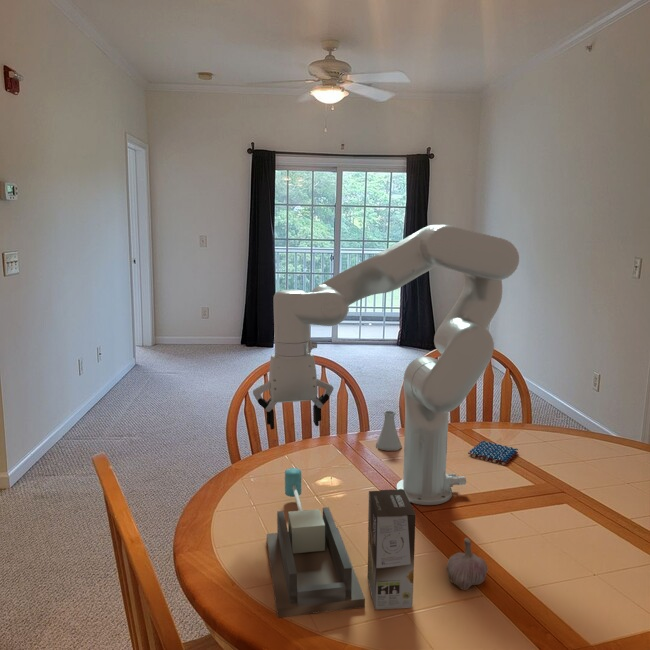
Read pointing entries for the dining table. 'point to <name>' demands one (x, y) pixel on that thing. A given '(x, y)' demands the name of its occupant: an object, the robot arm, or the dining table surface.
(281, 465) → the dining table surface
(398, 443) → the flask
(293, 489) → the cube with teal knob
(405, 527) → the coffee box
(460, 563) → the garlic bulb
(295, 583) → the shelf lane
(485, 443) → the woven mat
